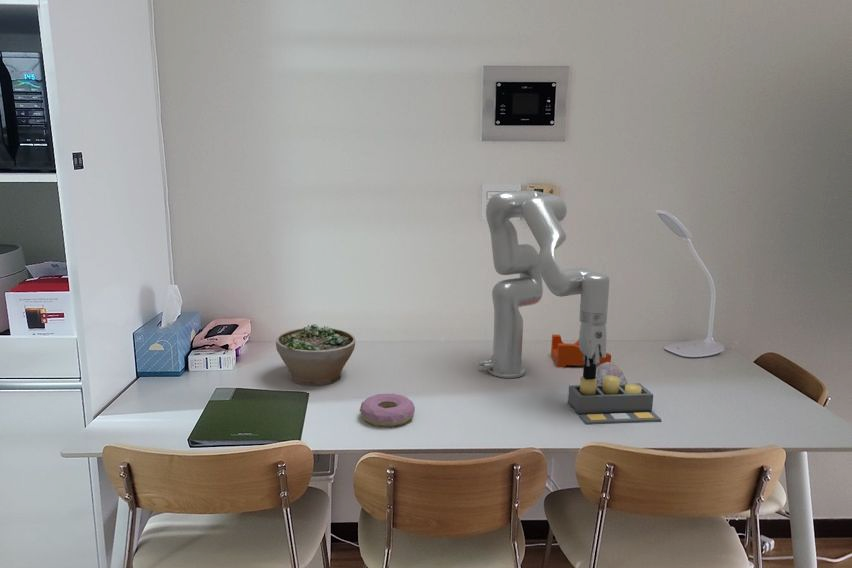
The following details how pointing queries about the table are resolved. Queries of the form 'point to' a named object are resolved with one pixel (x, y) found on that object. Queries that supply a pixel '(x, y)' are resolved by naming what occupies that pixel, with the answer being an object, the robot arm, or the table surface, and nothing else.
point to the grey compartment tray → (610, 401)
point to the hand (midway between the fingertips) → (589, 378)
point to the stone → (609, 372)
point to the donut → (387, 410)
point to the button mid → (610, 385)
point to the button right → (633, 389)
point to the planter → (315, 354)
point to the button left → (587, 386)
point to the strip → (619, 418)
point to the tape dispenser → (570, 353)
